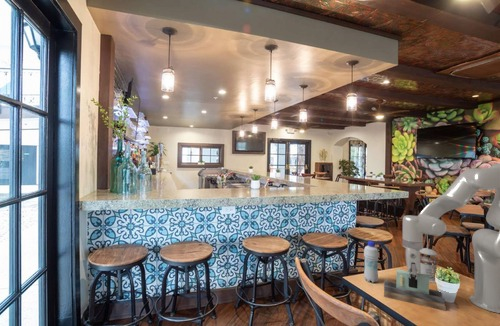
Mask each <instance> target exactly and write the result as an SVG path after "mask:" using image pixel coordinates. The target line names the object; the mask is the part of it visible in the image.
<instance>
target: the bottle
mask: <svg viewBox="0 0 500 326" xmlns="http://www.w3.org/2000/svg"><path fill="white" fill-rule="evenodd" d="M363 256H364V271H363V276H364V277H363V278H364V279H365V281H367V282H369V283H370V281H371V283H372V284H373V283H377V281H378V279H379V271H378V267H379V266H378V263H379V262H378V259H379V249H378V247H376V243H375V241H373V240H372V241H371V240H369V241H367V245H366V246H365V247H364V249H363Z"/></svg>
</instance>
